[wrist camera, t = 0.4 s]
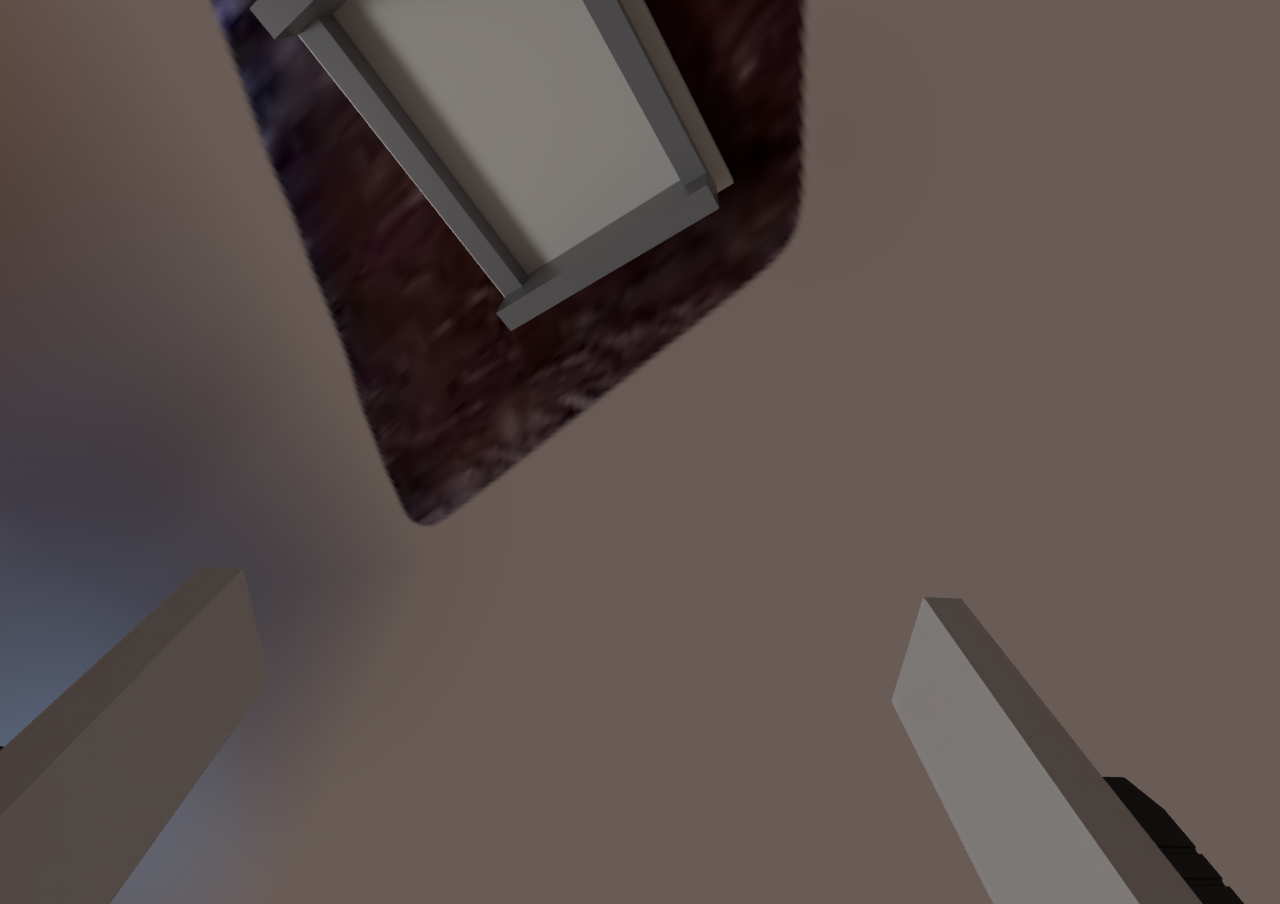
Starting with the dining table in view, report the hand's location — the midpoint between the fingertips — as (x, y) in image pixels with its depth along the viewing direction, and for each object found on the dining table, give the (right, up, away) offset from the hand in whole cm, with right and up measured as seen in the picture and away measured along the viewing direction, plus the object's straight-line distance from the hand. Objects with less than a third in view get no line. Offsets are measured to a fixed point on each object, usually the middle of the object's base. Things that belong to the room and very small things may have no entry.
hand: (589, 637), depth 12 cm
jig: (-5, +21, +18) cm, 28 cm away
